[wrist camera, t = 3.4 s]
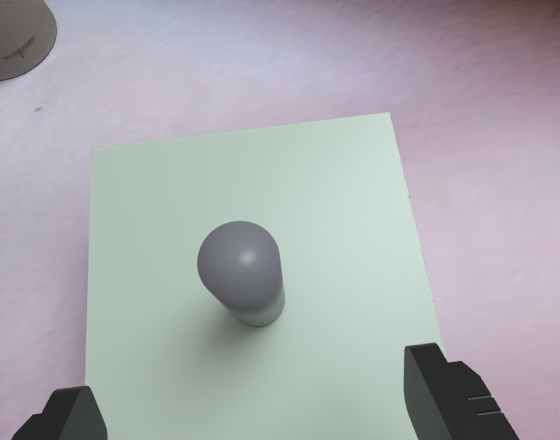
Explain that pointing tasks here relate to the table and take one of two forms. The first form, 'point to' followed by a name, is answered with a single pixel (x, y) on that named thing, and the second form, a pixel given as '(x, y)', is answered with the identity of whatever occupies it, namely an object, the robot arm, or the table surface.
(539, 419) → the table surface
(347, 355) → the tub lid
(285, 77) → the table surface
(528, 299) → the table surface
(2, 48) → the thermos bottle
